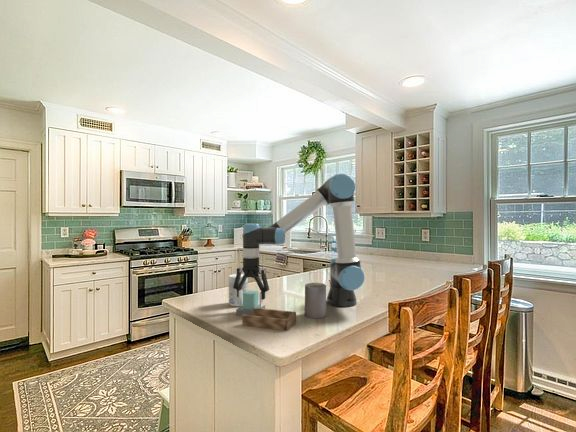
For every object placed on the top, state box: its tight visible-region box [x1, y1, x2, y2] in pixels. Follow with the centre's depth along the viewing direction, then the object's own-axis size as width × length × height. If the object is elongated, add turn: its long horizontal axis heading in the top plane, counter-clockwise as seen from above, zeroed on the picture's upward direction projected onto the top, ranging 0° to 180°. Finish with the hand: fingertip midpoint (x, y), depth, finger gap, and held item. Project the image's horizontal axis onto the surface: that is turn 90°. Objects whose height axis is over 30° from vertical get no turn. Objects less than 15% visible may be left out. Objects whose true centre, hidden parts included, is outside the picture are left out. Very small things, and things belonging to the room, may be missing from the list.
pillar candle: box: [304, 281, 327, 319], centre depth 142 cm, size 10×10×15 cm
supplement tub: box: [228, 273, 249, 308], centre depth 158 cm, size 10×10×15 cm
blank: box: [243, 290, 259, 310], centre depth 145 cm, size 5×6×7 cm
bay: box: [241, 308, 297, 332], centre depth 131 cm, size 20×11×4 cm, turn 72°
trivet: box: [235, 304, 266, 317], centre depth 145 cm, size 10×10×2 cm
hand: (251, 305), depth 145 cm, fingers open, 10 cm apart
